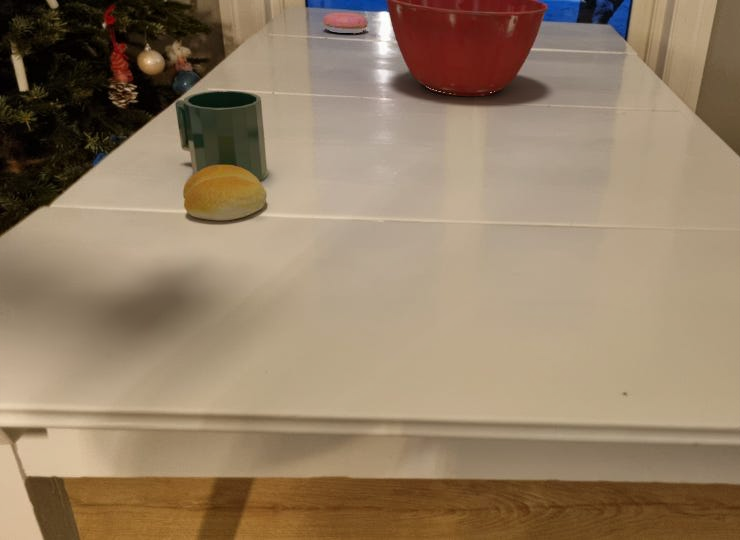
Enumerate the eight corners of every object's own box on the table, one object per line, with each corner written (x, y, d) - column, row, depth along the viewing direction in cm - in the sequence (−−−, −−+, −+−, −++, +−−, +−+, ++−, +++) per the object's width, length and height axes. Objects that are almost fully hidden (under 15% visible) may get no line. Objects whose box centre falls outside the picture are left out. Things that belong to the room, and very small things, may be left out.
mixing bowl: (536, 75, 143) (544, -7, 136) (543, 113, 117) (553, 14, 110) (395, 67, 143) (396, -16, 136) (372, 102, 117) (371, 2, 110)
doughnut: (370, 29, 181) (370, 11, 179) (365, 36, 171) (364, 18, 169) (327, 26, 181) (326, 9, 179) (319, 34, 171) (318, 15, 169)
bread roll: (187, 227, 71) (181, 189, 69) (184, 195, 78) (178, 160, 76) (272, 219, 74) (269, 182, 72) (262, 188, 81) (259, 154, 79)
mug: (281, 172, 86) (276, 98, 82) (231, 193, 79) (222, 113, 75) (211, 154, 90) (202, 82, 86) (157, 171, 84) (145, 95, 80)
